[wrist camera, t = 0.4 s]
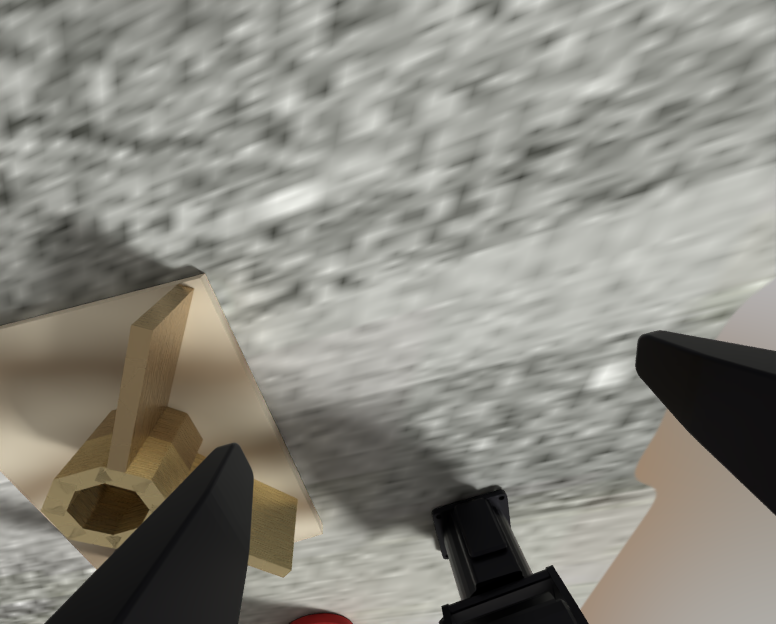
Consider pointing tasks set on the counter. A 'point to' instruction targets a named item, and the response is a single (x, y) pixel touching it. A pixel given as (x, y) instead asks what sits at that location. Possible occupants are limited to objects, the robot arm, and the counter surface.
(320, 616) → the canned food
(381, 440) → the counter surface
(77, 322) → the mounting board
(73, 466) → the spoked octagonal hub
